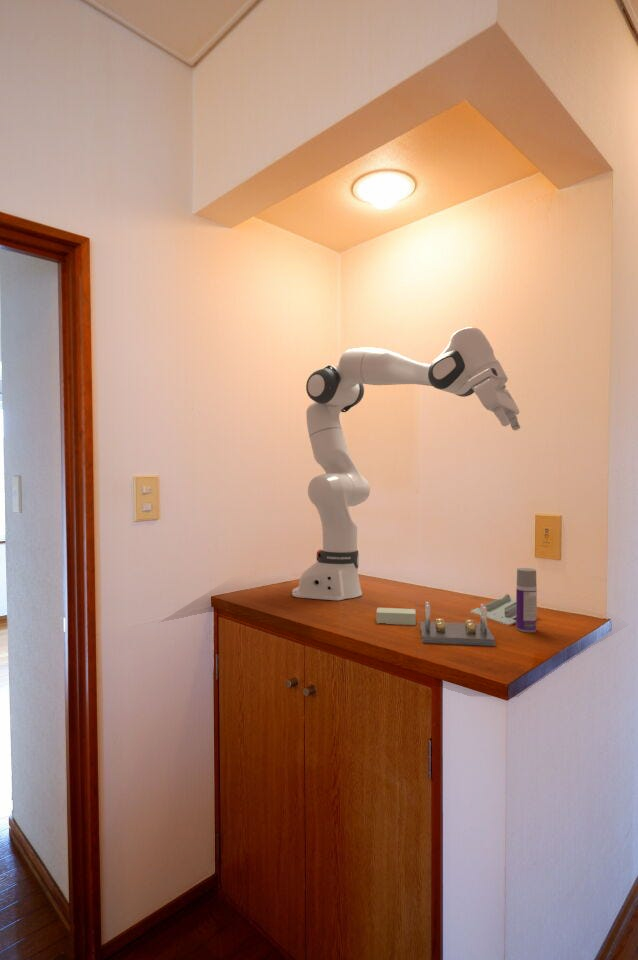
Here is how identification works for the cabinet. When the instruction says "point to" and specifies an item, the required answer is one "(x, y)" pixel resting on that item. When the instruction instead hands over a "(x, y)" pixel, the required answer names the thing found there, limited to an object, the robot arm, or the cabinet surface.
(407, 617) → the board
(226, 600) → the cabinet surface
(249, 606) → the cabinet surface
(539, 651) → the cabinet surface
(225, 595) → the cabinet surface
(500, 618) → the metal bracket
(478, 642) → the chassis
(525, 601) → the container
